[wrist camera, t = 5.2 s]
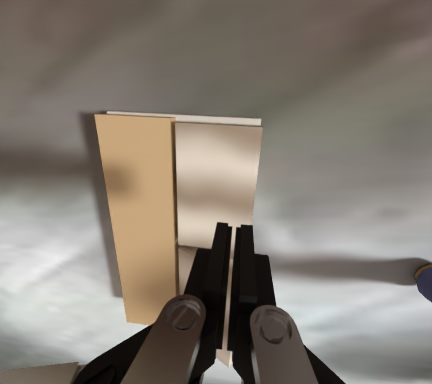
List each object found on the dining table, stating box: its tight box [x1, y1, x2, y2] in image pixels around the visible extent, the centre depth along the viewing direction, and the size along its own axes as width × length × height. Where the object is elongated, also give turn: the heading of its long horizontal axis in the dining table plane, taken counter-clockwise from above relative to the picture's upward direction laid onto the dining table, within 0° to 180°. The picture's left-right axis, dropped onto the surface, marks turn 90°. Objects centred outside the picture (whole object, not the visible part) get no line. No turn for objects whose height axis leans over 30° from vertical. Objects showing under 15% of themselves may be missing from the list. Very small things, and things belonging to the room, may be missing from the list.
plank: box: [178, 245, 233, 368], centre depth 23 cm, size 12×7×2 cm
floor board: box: [94, 111, 261, 325], centre depth 24 cm, size 25×14×4 cm, turn 177°
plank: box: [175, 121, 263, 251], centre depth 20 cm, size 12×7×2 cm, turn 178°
